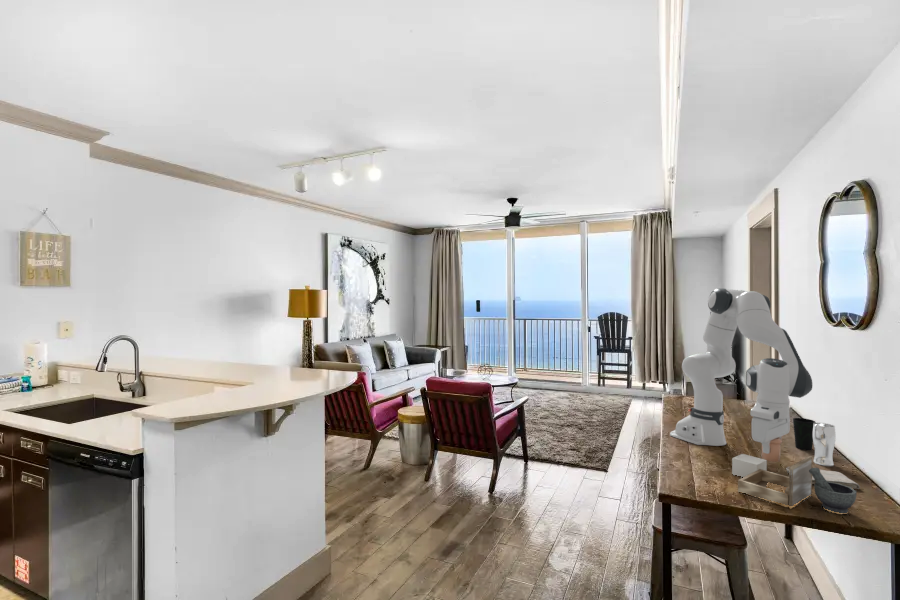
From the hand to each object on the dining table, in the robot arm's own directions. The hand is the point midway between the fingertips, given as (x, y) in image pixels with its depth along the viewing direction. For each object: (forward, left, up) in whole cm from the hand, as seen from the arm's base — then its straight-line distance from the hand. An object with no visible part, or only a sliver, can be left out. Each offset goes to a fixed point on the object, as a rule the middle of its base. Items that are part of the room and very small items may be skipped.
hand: (770, 450), depth 152 cm
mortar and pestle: (+16, +2, -14) cm, 21 cm away
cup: (-10, +63, -14) cm, 65 cm away
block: (-10, +10, -14) cm, 20 cm away
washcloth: (+6, +26, -15) cm, 31 cm away
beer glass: (+1, +48, -14) cm, 50 cm away
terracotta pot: (0, 0, -3) cm, 3 cm away
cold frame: (+1, 0, -14) cm, 14 cm away
